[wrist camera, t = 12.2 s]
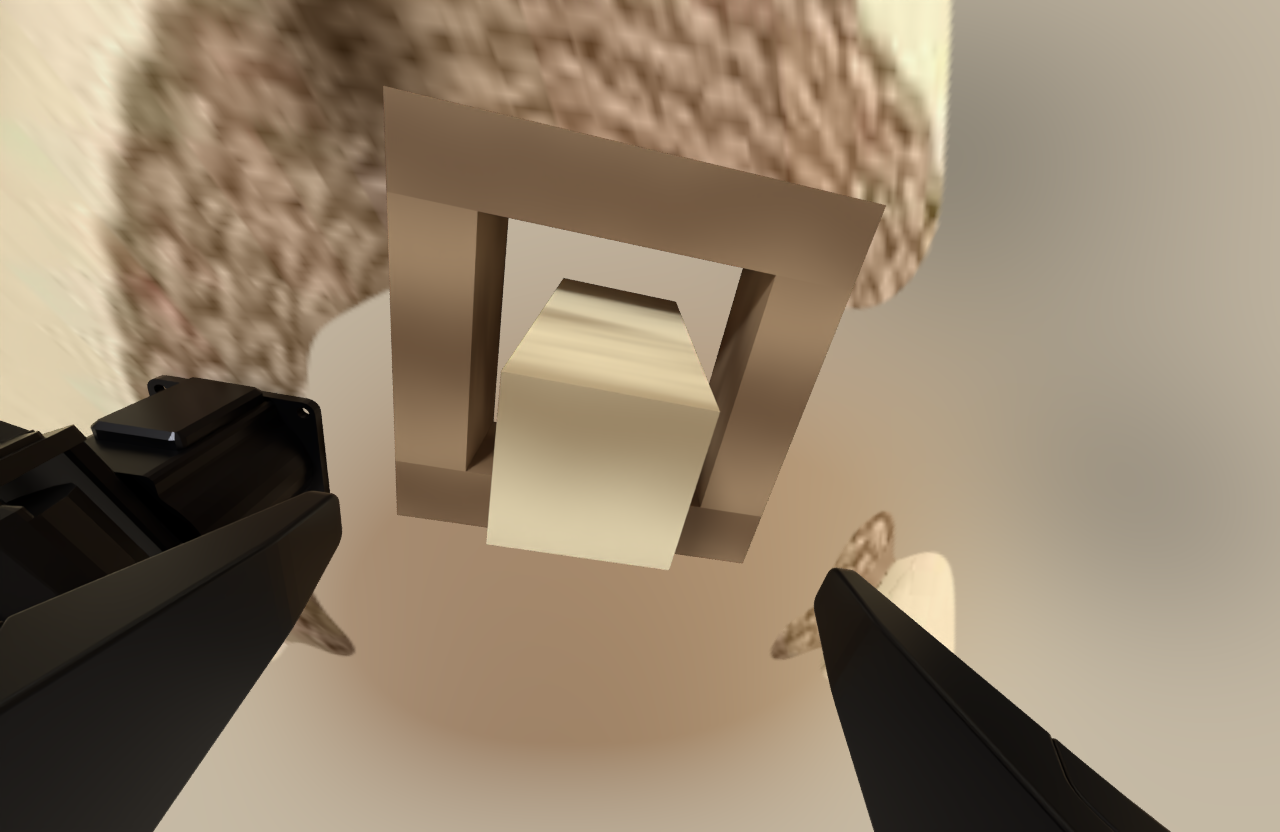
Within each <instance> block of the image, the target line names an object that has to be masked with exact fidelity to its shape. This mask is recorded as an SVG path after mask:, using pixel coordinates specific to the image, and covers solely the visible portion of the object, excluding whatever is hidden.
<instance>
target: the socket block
mask: <svg viewBox="0 0 1280 832" xmlns="http://www.w3.org/2000/svg"><path fill="white" fill-rule="evenodd" d="M383 99H384V129H385V160H386V190H387V221H388V251H389V282H390V312H391V342H392V373H393V404H394V431H395V433H394V434H395V464H396V493H397V494H396V496H397V515H402V516H409V517H417V518H425V519H431V520H438V521H445V522H452V523H460V524H466V525H473V526H481V527H488V517H489V506H490V494H491V483H492V471H493V460H494V448H495V436H496V425H497V422H493V421H494V407H495V393H496V378H497V366H498V353H499V339H500V325H501V312H502V311H501V310H502V298H503V285H504V270H505V257H506V243H507V230H508V218H512V219H517V220H521V221H526V222H531V223H536V224H541V225H545V226H549V227H555V228H559V229H563V230H568V231H573V232H577V233H582V234H587V235H592V236H596V237H601V238H605V239H610V240H615V241H619V242H624V243H629V244H633V245H638V246H643V247H648V248H652V249H657V250H661V251H666V252H671V253H675V254H680V255H685V256H690V257H694V258H699V259H703V260H708V261H713V262H717V263H722V264H727V265H731V266H736V267H741V268H743V270H742V273H741V277H740V280H739V283H738V287H737V290H736V294H735V297H734V301H733V304H732V307H731V311H730V314H729V318H728V321H727V325H726V328H725V332H724V335H723V338H722V342H721V345H720V348H719V352H718V355H717V359H716V362H715V366H714V369H713V372H712V376H711V379H710V383H709V386H710V388H711V391H712V393H713V396H714V398H715V401H716V403H717V406H718V408H719V411H720V413H719V417H718V420H717V423H716V426H715V429H714V432H713V435H712V438H711V441H710V445H709V448H708V451H707V454H706V457H705V460H704V463H703V466H702V469H701V473H700V476H699V479H698V482H697V485H696V488H695V491H694V494H693V497H692V501H691V504H690V507H689V510H688V513H687V516H686V519H685V522H684V525H683V528H682V532H681V535H680V538H679V541H678V544H677V547H676V550H675V553H674V554H680V555H688V556H694V557H701V558H709V559H715V560H723V561H729V562H736V563H743V561H744V559H745V556H746V554H747V551H748V549H749V546H750V544H751V541H752V538H753V536H754V534H755V531H756V528H757V526H758V524H759V521H760V519H761V516H762V514H763V511H764V509H765V506H766V504H767V501H768V499H769V496H770V494H771V491H772V489H773V486H774V484H775V481H776V479H777V476H778V474H779V471H780V469H781V466H782V464H783V461H784V459H785V456H786V454H787V451H788V449H789V446H790V444H791V441H792V439H793V436H794V434H795V431H796V429H797V427H798V424H799V421H800V419H801V416H802V414H803V412H804V409H805V407H806V404H807V402H808V399H809V396H810V394H811V392H812V389H813V387H814V384H815V382H816V379H817V377H818V374H819V372H820V369H821V367H822V364H823V362H824V359H825V357H826V354H827V352H828V349H829V347H830V344H831V341H832V339H833V337H834V334H835V332H836V329H837V327H838V324H839V322H840V319H841V317H842V314H843V312H844V309H845V307H846V304H847V302H848V299H849V297H850V294H851V292H852V289H853V287H854V284H855V282H856V279H857V277H858V274H859V272H860V269H861V267H862V264H863V262H864V259H865V257H866V254H867V252H868V249H869V247H870V244H871V242H872V239H873V237H874V234H875V232H876V229H877V227H878V224H879V222H880V219H881V217H882V214H883V212H884V209H885V207H886V205H882V204H878V203H874V202H870V201H865V200H861V199H857V198H853V197H849V196H844V195H840V194H836V193H832V192H828V191H823V190H819V189H815V188H811V187H807V186H802V185H798V184H794V183H790V182H786V181H781V180H777V179H773V178H769V177H765V176H760V175H756V174H752V173H748V172H744V171H739V170H735V169H731V168H727V167H723V166H718V165H714V164H710V163H706V162H702V161H697V160H693V159H689V158H685V157H681V156H676V155H672V154H668V153H664V152H660V151H655V150H651V149H647V148H643V147H639V146H634V145H630V144H626V143H622V142H618V141H613V140H609V139H605V138H601V137H597V136H592V135H588V134H584V133H580V132H576V131H571V130H567V129H563V128H559V127H555V126H550V125H546V124H542V123H538V122H534V121H529V120H525V119H521V118H517V117H513V116H508V115H504V114H500V113H496V112H492V111H487V110H483V109H479V108H475V107H471V106H466V105H462V104H458V103H454V102H450V101H445V100H441V99H437V98H433V97H429V96H425V95H420V94H416V93H412V92H408V91H404V90H399V89H395V88H391V87H387V86H383Z"/></svg>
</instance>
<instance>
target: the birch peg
mask: <svg viewBox="0 0 1280 832" xmlns="http://www.w3.org/2000/svg"><path fill="white" fill-rule="evenodd" d="M719 413H720V411H719V408H718V406H717V403H716V401H715V398H714V396H713V393H712V391H711V388H710V386H709V383H708V381H707V378H706V376H705V373H704V371H703V368H702V366H701V363H700V361H699V358H698V356H697V353H696V351H695V348H694V346H693V343H692V341H691V338H690V336H689V333H688V331H687V328H686V326H685V323H684V321H683V318H682V316H681V313H680V311H679V309H678V306H677V304H676V302H674V301H670V300H665V299H660V298H655V297H650V296H646V295H641V294H637V293H632V292H627V291H622V290H617V289H613V288H608V287H603V286H598V285H594V284H589V283H584V282H580V281H575V280H570V279H565V278H564V279H563V280H562V281H561V283H560V284H559V286H558V287H557V289H556V290H555V292H554V293H553V295H552V296H551V298H550V299H549V301H548V302H547V304H546V305H545V307H544V308H543V310H542V311H541V313H540V314H539V316H538V317H537V319H536V320H535V322H534V323H533V325H532V326H531V328H530V329H529V331H528V332H527V334H526V335H525V336H524V338H523V340H522V341H521V342H520V344H519V345H518V347H517V348H516V350H515V351H514V353H513V354H512V356H511V357H510V359H509V360H508V362H507V363H506V365H505V366H504V368H503V369H502V371H501V379H500V391H499V402H498V413H497V425H496V436H495V448H494V460H493V471H492V483H491V494H490V506H489V517H488V529H487V541H486V544H488V545H495V546H502V547H509V548H516V549H523V550H530V551H537V552H544V553H551V554H558V555H565V556H572V557H579V558H586V559H593V560H600V561H607V562H615V563H621V564H629V565H635V566H642V567H649V568H656V569H663V570H669V569H670V566H671V563H672V560H673V556H674V553H675V550H676V547H677V544H678V541H679V538H680V535H681V532H682V528H683V525H684V522H685V519H686V516H687V513H688V510H689V507H690V504H691V501H692V497H693V494H694V491H695V488H696V485H697V482H698V479H699V476H700V473H701V469H702V466H703V463H704V460H705V457H706V454H707V451H708V448H709V445H710V441H711V438H712V435H713V432H714V429H715V426H716V423H717V420H718V417H719Z"/></svg>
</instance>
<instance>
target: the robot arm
mask: <svg viewBox="0 0 1280 832" xmlns="http://www.w3.org/2000/svg"><path fill="white" fill-rule="evenodd" d="M147 386H148V391H149V395H150V396H149V397H147V398H145V399H143V400H141V401H138V402H136V403H134V404H132V405H129V406H127V407H125V408H123V409H120V410H118V411H116V412H114V413H112V414H109V415H107V416H105V417H103V418H100V419H98V420H97V421H96V422H95V423H93V424H92V425H91V429H92V432H93V434H92V435H90V436H88V437H85V436H84V435H83V434H82V433H81V432H80V431H79V430H78V429H77V428H76V427H75V425H70V426H67V427H64V428H60V429H57V430H54V431H51V432H48V433H45V434H41V433H40V432H39V431H36V432H35V431H34V430H30V431H29V430H26V429H23V428H20V427H17V426H14V425H11V424H9V423H6V422H3V421H0V832H153V831H154V830H155V828H156V827H157V825H158V824H159V822H160V821H161V820H162V818H163V816H164V815H165V814H166V812H167V811H168V809H169V808H170V806H171V805H172V803H173V802H174V800H175V799H176V798H177V796H178V795H179V793H180V792H181V790H182V789H183V788H184V786H185V785H186V783H187V782H188V780H189V779H190V777H191V776H192V774H193V773H194V772H195V770H196V769H197V767H198V766H199V764H200V763H201V761H202V760H203V758H204V757H205V756H206V754H207V753H208V751H209V750H210V748H211V747H212V745H213V744H214V743H215V741H216V739H217V738H218V737H219V735H220V734H221V732H222V731H223V729H224V728H225V726H226V725H227V724H228V722H229V721H230V719H231V718H232V716H233V715H234V713H235V712H236V710H237V709H238V708H239V706H240V705H241V703H242V702H243V700H244V699H245V697H246V696H247V694H248V693H249V692H250V690H251V689H252V687H253V686H254V684H255V683H256V681H257V680H258V679H259V677H260V676H261V674H262V673H263V671H264V670H265V668H266V667H267V665H268V664H269V663H270V661H271V660H272V658H273V657H274V655H275V654H276V652H277V651H278V649H279V648H280V647H281V645H282V644H283V642H284V641H285V639H286V638H287V636H288V635H289V633H290V632H291V630H292V628H293V627H294V625H295V623H296V622H297V620H298V618H299V617H300V615H301V613H302V611H303V609H304V608H305V606H306V604H307V602H308V600H309V598H310V597H311V595H312V593H313V591H314V589H315V587H316V586H317V584H318V582H319V580H320V578H321V576H322V574H323V573H324V571H325V569H326V567H327V565H328V564H329V562H330V560H331V558H332V556H333V554H334V552H335V551H336V549H337V547H338V545H339V543H340V540H341V536H342V524H341V515H340V504H339V499H338V497H337V496H336V495H334V494H332V493H330V489H329V479H328V471H327V462H326V453H325V443H324V434H323V425H322V416H321V409H320V407H319V406H318V404H317V403H316V402H314V401H313V400H310V399H307V398H301V397H295V396H289V395H283V394H277V393H271V392H265V391H261V390H259V389H257V388H255V387H250V386H244V385H238V384H232V383H225V382H219V381H213V380H207V379H201V378H194V377H193V378H190V379H185V378H179V377H173V376H167V375H162V376H159V377H157V378H154V379H152V380H150V381H149V382H148V384H147ZM163 386H164V387H165V388H166V389H165V388H164V387H163ZM303 408H305V409H306V410H307V411H308V412H309V414H307V413H306V412H304V411H303ZM814 611H815V616H816V621H817V626H818V631H819V636H820V641H821V646H822V650H823V655H824V660H825V665H826V670H827V675H828V679H829V684H830V688H831V692H832V695H833V699H834V702H835V706H836V709H837V712H838V716H839V719H840V722H841V725H842V729H843V732H844V735H845V738H846V742H847V745H848V748H849V751H850V755H851V758H852V761H853V764H854V768H855V771H856V774H857V777H858V781H859V783H860V787H861V790H862V793H863V797H864V800H865V803H866V807H867V810H868V813H869V817H870V820H871V823H872V826H873V830H874V832H1170V831H1169V830H1168V829H1167V828H1165V827H1164V826H1163V825H1161V824H1160V823H1159V822H1157V821H1156V820H1155V819H1154V818H1153V817H1151V816H1150V815H1149V814H1147V813H1146V812H1145V811H1143V810H1142V809H1141V808H1140V807H1138V806H1137V805H1136V804H1135V803H1133V802H1132V801H1131V800H1129V799H1128V798H1127V797H1126V796H1124V795H1123V794H1122V793H1121V792H1119V791H1118V790H1117V789H1116V788H1115V787H1113V786H1112V785H1111V784H1110V783H1109V782H1107V781H1106V780H1105V779H1104V778H1102V777H1101V776H1100V775H1099V774H1097V773H1096V772H1095V771H1094V770H1093V769H1091V768H1090V767H1089V766H1088V765H1086V764H1085V763H1084V762H1083V761H1082V760H1080V759H1079V758H1078V757H1077V756H1076V755H1074V754H1073V753H1072V752H1071V751H1070V750H1068V749H1067V748H1066V747H1065V746H1064V745H1063V744H1061V743H1060V742H1059V741H1058V740H1057V739H1054V738H1051V735H1050V734H1049V733H1048V732H1047V731H1045V730H1044V729H1043V728H1042V727H1041V726H1040V725H1039V724H1037V723H1036V722H1035V721H1033V720H1032V719H1031V718H1030V717H1029V716H1028V715H1027V714H1025V713H1024V712H1023V711H1022V710H1021V709H1019V708H1018V707H1017V706H1016V705H1015V704H1013V703H1012V702H1011V701H1010V700H1009V699H1007V698H1006V697H1005V696H1004V695H1003V694H1001V693H1000V692H999V691H998V690H997V689H995V688H994V687H993V686H992V685H991V684H989V683H988V682H987V681H986V680H985V679H983V678H982V677H981V676H980V675H979V674H977V673H976V672H975V671H974V670H973V669H971V668H970V667H969V666H968V665H967V664H965V663H964V662H963V661H962V660H961V659H959V658H958V657H957V656H956V655H955V654H954V653H952V652H951V651H950V650H949V649H948V648H946V647H945V646H944V645H943V644H942V643H940V642H939V641H938V640H937V639H936V638H934V637H933V636H932V635H931V634H930V633H928V632H927V631H926V630H925V629H924V628H922V627H921V626H920V625H919V624H918V623H916V622H915V621H914V620H913V619H912V618H910V617H909V616H908V615H907V614H906V613H904V612H903V611H902V610H901V609H900V608H898V607H897V606H896V605H895V604H894V603H892V602H891V601H890V600H889V599H888V598H886V597H885V596H884V595H883V594H882V593H880V592H879V591H878V590H877V589H876V588H875V587H873V586H872V585H871V584H870V583H869V582H867V581H866V580H865V579H864V578H863V577H861V576H860V575H859V574H858V573H856V572H855V571H853V570H848V569H842V568H832V569H831V570H830V571H829V572H828V574H827V576H826V577H825V579H824V581H823V584H822V585H821V587H820V589H819V591H818V593H817V595H816V597H815V601H814Z"/></svg>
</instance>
